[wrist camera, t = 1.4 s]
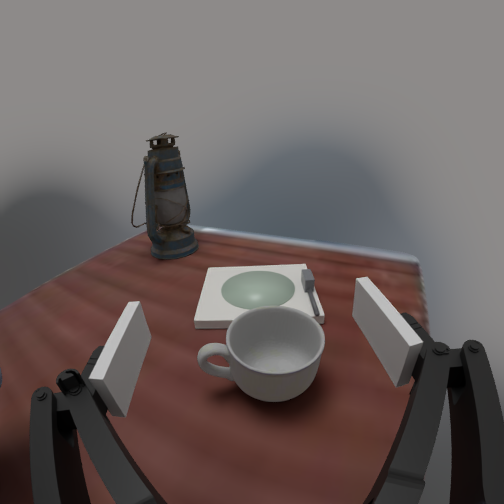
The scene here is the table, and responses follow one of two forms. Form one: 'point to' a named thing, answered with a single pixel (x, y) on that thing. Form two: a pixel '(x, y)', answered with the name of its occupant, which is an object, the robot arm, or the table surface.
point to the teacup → (269, 352)
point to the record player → (255, 293)
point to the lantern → (166, 201)
